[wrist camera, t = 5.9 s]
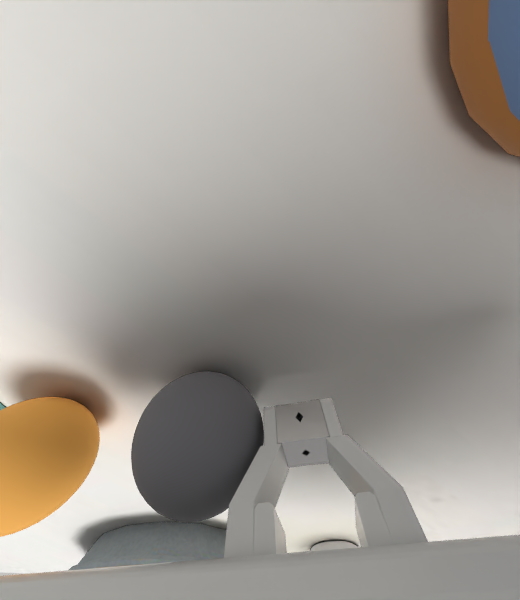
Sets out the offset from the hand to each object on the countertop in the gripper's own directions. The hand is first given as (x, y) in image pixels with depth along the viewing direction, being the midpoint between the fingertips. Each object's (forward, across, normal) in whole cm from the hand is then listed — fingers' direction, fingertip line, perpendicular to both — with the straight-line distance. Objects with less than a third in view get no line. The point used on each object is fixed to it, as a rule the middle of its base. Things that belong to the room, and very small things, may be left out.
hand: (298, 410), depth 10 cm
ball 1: (0, +13, 0) cm, 13 cm away
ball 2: (-1, +4, 0) cm, 4 cm away
